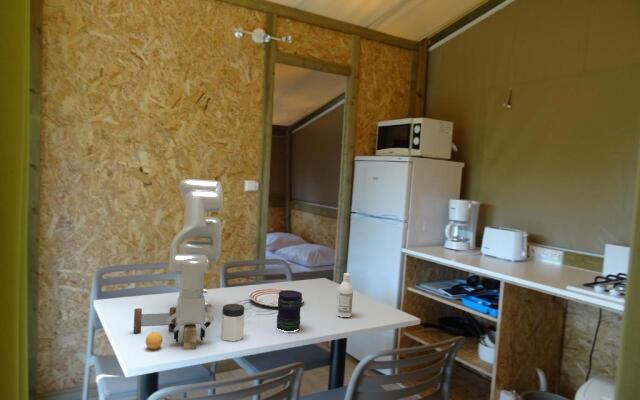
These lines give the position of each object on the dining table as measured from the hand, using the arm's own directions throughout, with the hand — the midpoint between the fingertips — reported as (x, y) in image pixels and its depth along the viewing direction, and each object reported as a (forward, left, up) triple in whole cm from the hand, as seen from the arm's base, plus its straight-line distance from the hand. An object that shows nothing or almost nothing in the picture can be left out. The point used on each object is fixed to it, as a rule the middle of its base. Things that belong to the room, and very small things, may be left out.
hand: (189, 339), depth 160 cm
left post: (+18, -14, -1) cm, 23 cm away
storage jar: (-40, -10, -2) cm, 41 cm away
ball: (+12, +2, +1) cm, 12 cm away
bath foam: (-70, -22, -2) cm, 73 cm away
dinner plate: (-44, -47, -2) cm, 64 cm away
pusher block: (0, 0, -2) cm, 2 cm away
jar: (-16, -4, -2) cm, 17 cm away
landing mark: (+12, -28, -1) cm, 30 cm away
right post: (+6, -14, -1) cm, 15 cm away
